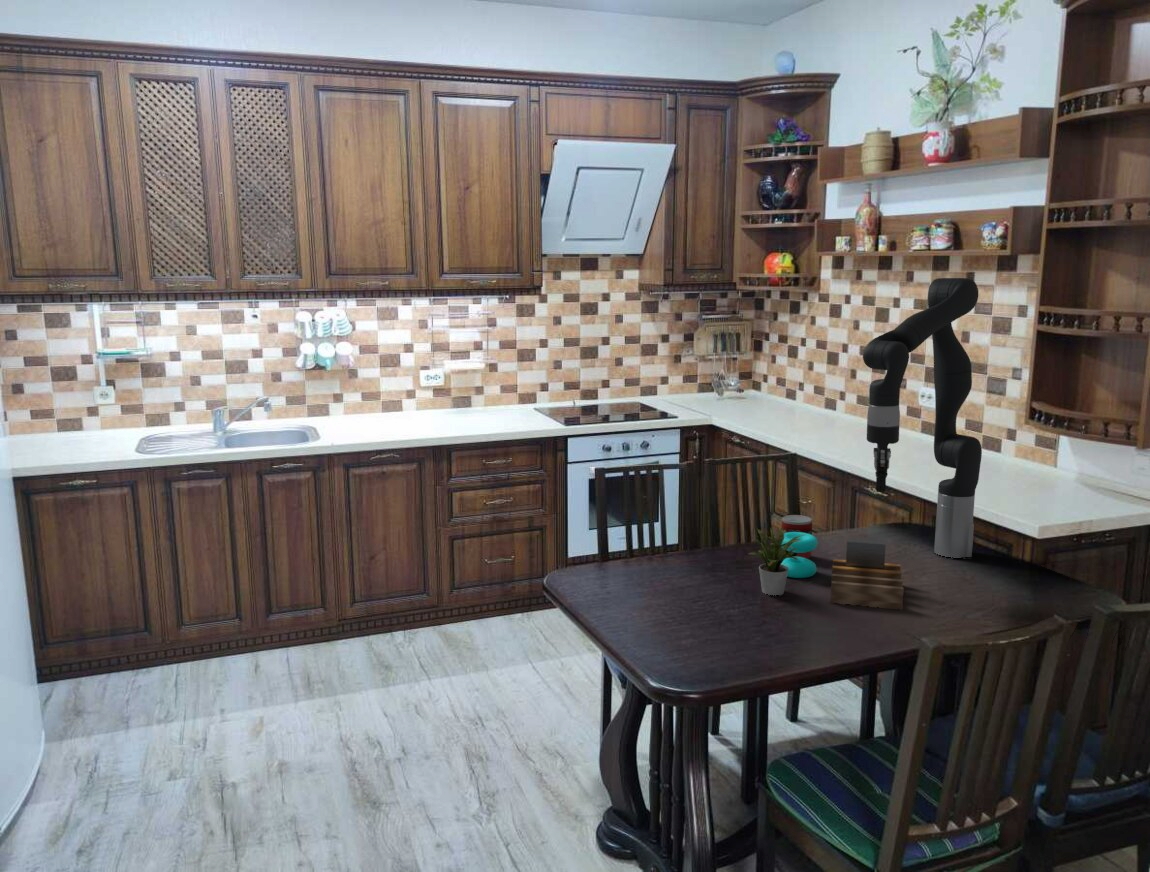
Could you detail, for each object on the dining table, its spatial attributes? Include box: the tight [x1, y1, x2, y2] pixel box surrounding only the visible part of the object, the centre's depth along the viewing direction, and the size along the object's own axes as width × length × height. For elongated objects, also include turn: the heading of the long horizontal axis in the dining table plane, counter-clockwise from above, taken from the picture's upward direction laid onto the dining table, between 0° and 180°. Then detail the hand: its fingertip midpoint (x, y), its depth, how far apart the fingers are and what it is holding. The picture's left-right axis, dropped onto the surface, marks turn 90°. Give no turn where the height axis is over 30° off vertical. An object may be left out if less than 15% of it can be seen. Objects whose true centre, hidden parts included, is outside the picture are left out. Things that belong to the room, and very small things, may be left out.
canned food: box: [780, 514, 813, 560], centre depth 247 cm, size 8×8×11 cm
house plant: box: [748, 526, 804, 597], centre depth 220 cm, size 14×14×16 cm
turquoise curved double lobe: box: [780, 532, 819, 579], centre depth 235 cm, size 10×10×10 cm
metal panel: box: [845, 538, 887, 570], centre depth 225 cm, size 9×2×10 cm, turn 73°
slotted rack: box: [830, 558, 905, 611], centre depth 220 cm, size 16×17×5 cm
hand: (880, 491), depth 226 cm, fingers closed
